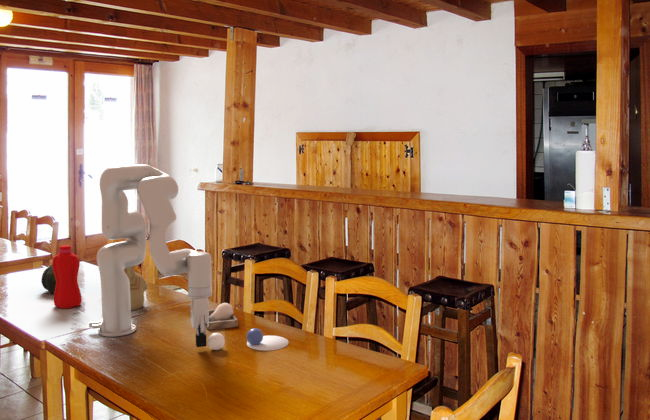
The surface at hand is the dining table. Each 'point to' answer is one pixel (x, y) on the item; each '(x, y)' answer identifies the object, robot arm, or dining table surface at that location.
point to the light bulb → (221, 313)
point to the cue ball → (216, 341)
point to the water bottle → (66, 278)
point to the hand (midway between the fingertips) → (201, 345)
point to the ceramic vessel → (136, 288)
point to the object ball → (254, 336)
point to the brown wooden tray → (222, 322)
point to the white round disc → (270, 343)
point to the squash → (49, 280)
